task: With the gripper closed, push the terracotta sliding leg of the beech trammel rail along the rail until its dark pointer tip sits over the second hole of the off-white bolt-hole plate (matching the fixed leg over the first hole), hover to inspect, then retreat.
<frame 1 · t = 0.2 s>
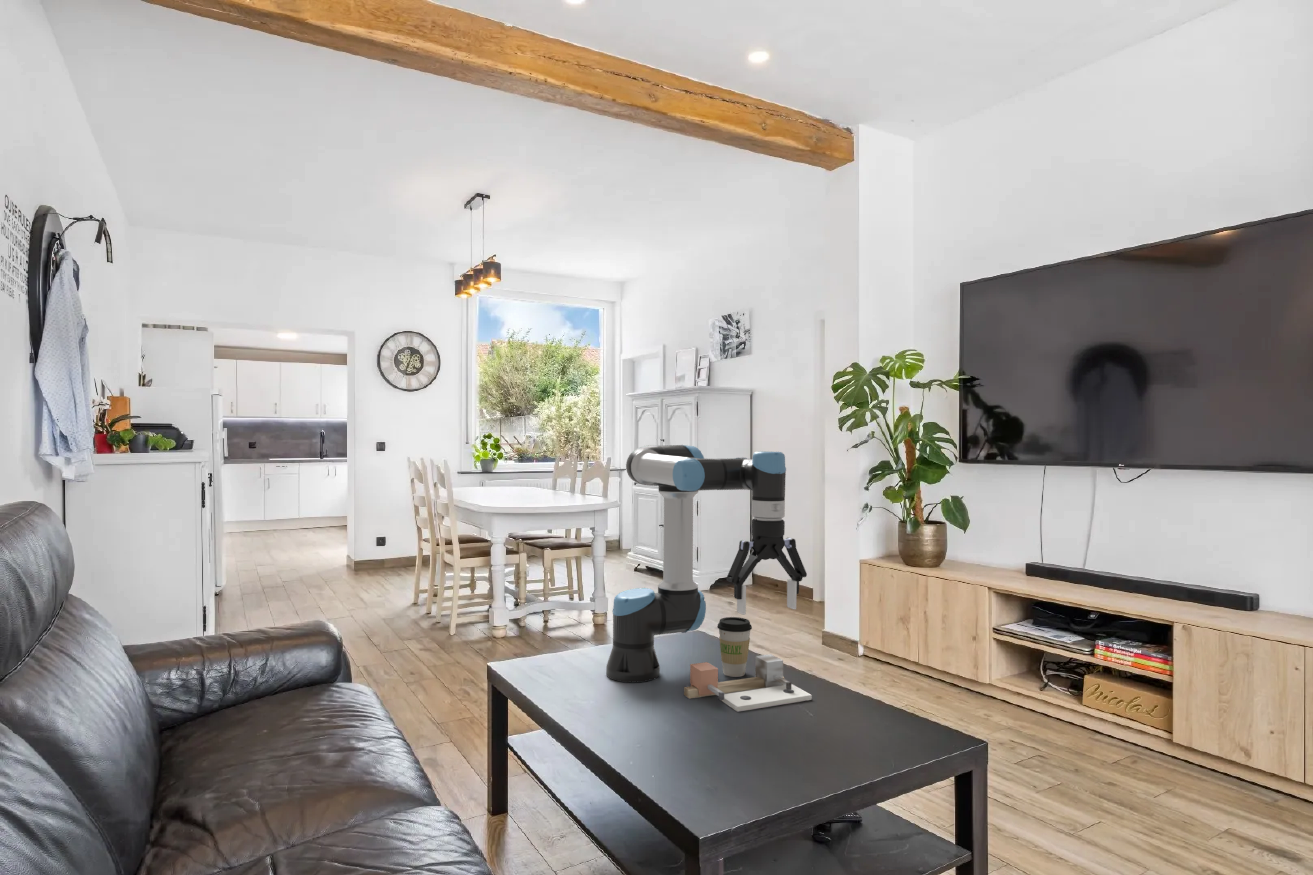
hand: (766, 610, 172), 28 cm above the table, fingers open, 13 cm apart
rail: (735, 689, 199), on the table
coffee cup: (734, 673, 213), on the table
sliding leg: (710, 682, 192), point 4 cm above the table, slide at 0.0 cm
hole plate: (765, 699, 192), on the table
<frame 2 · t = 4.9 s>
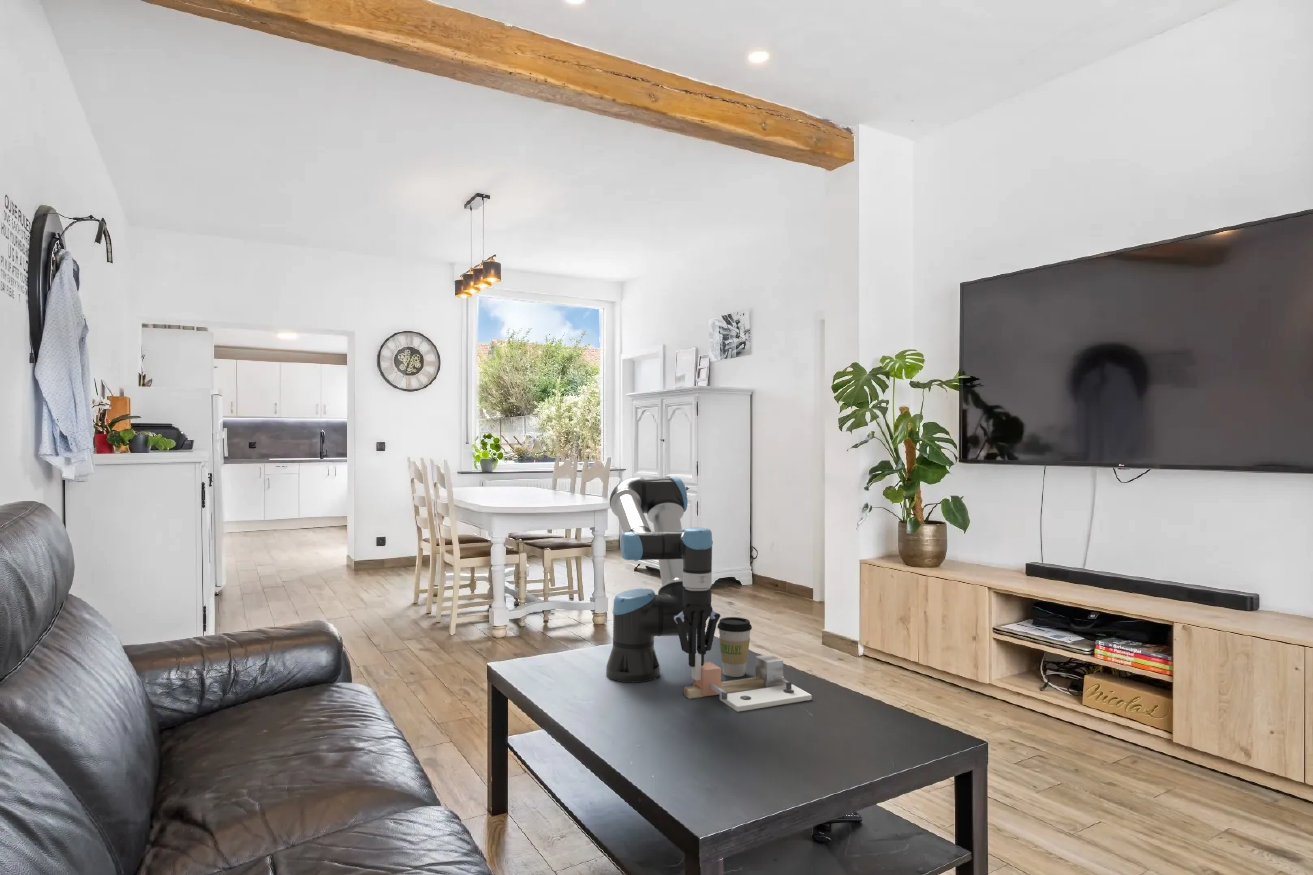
hand: (696, 678, 194), 4 cm above the table, fingers closed
sliding leg: (713, 682, 193), point 4 cm above the table, slide at 0.9 cm, touching gripper
everything else where it was.
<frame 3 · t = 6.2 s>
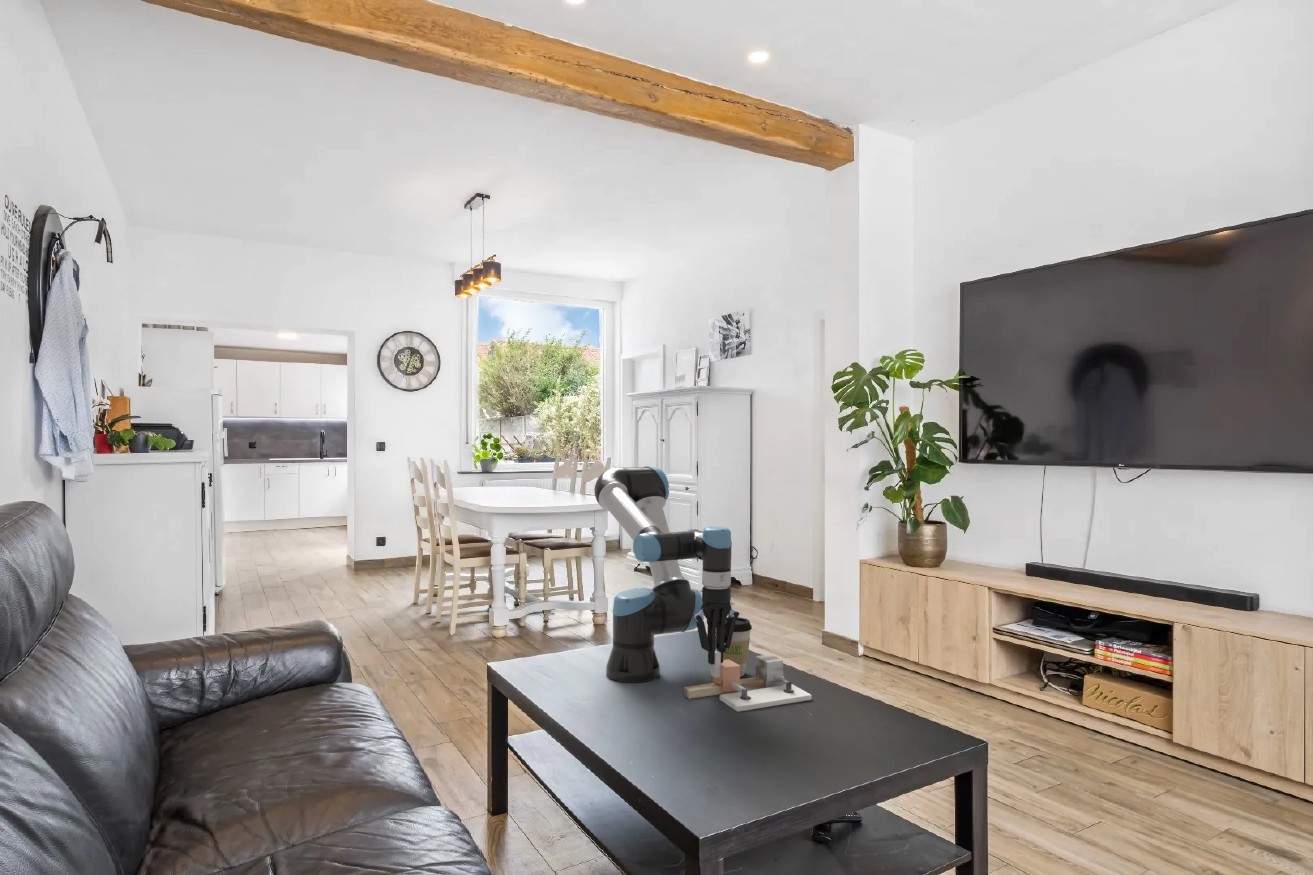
hand: (715, 675, 197), 4 cm above the table, fingers closed
sliding leg: (732, 679, 195), point 4 cm above the table, slide at 6.6 cm, touching gripper
everything else where it was.
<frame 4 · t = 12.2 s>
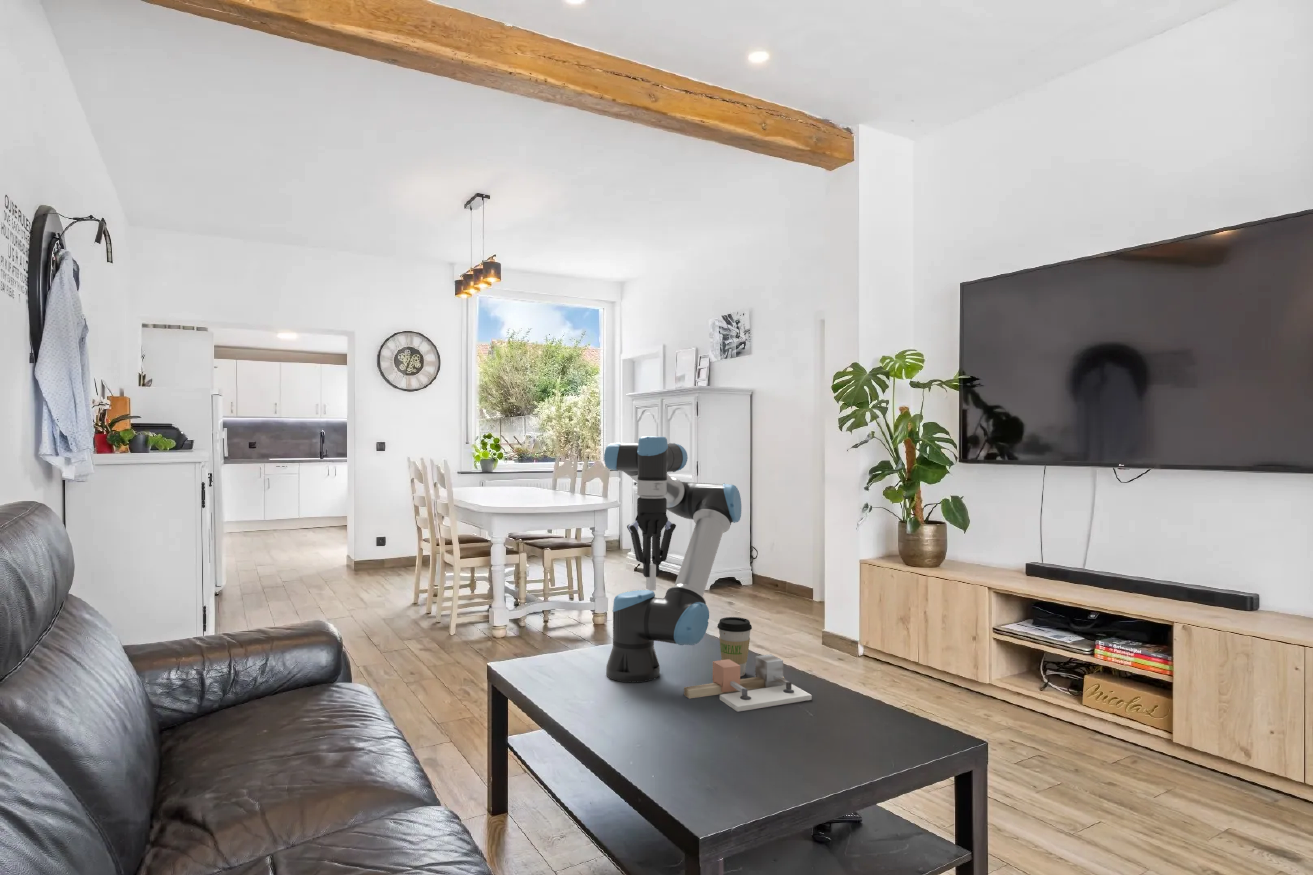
hand: (650, 589, 190), 28 cm above the table, fingers closed
sliding leg: (733, 679, 195), point 4 cm above the table, slide at 6.7 cm
everything else where it was.
at the end: sliding leg slide at 6.7 cm; sliding leg touching nothing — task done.
